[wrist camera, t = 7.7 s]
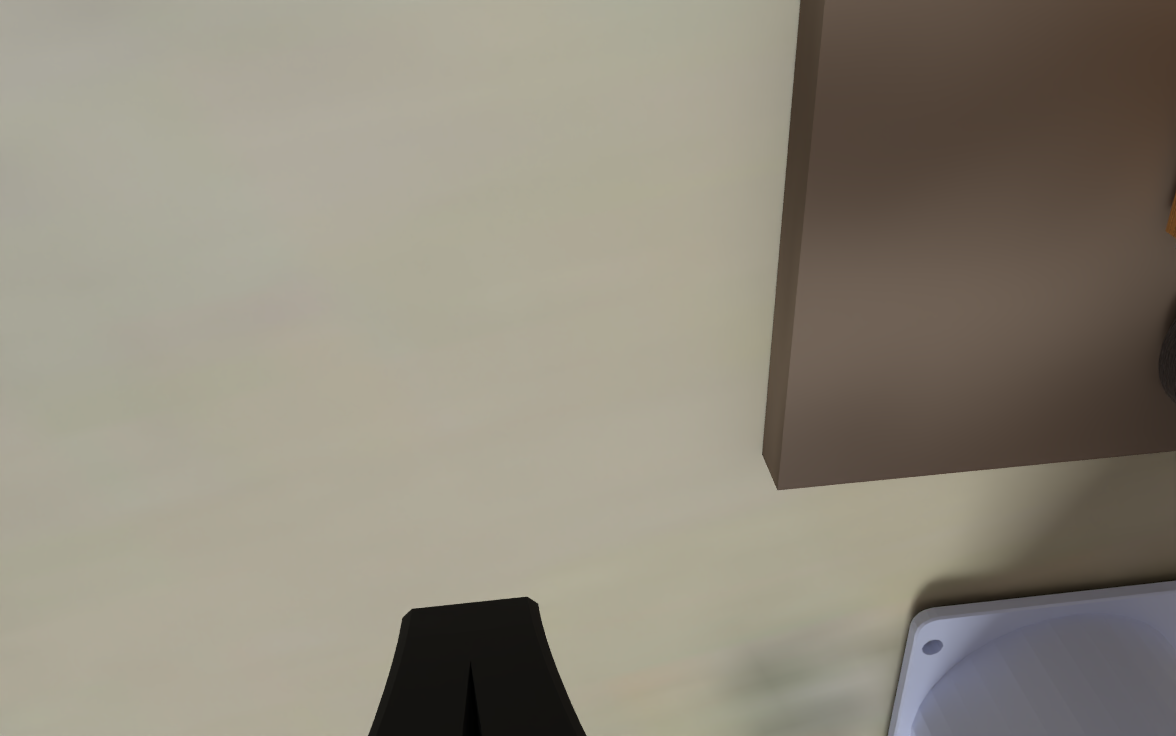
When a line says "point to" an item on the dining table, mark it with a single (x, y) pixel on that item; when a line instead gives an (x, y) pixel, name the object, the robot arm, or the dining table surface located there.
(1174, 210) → the tong arm
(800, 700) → the dining table surface
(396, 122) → the dining table surface
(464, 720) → the robot arm
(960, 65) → the walnut board
